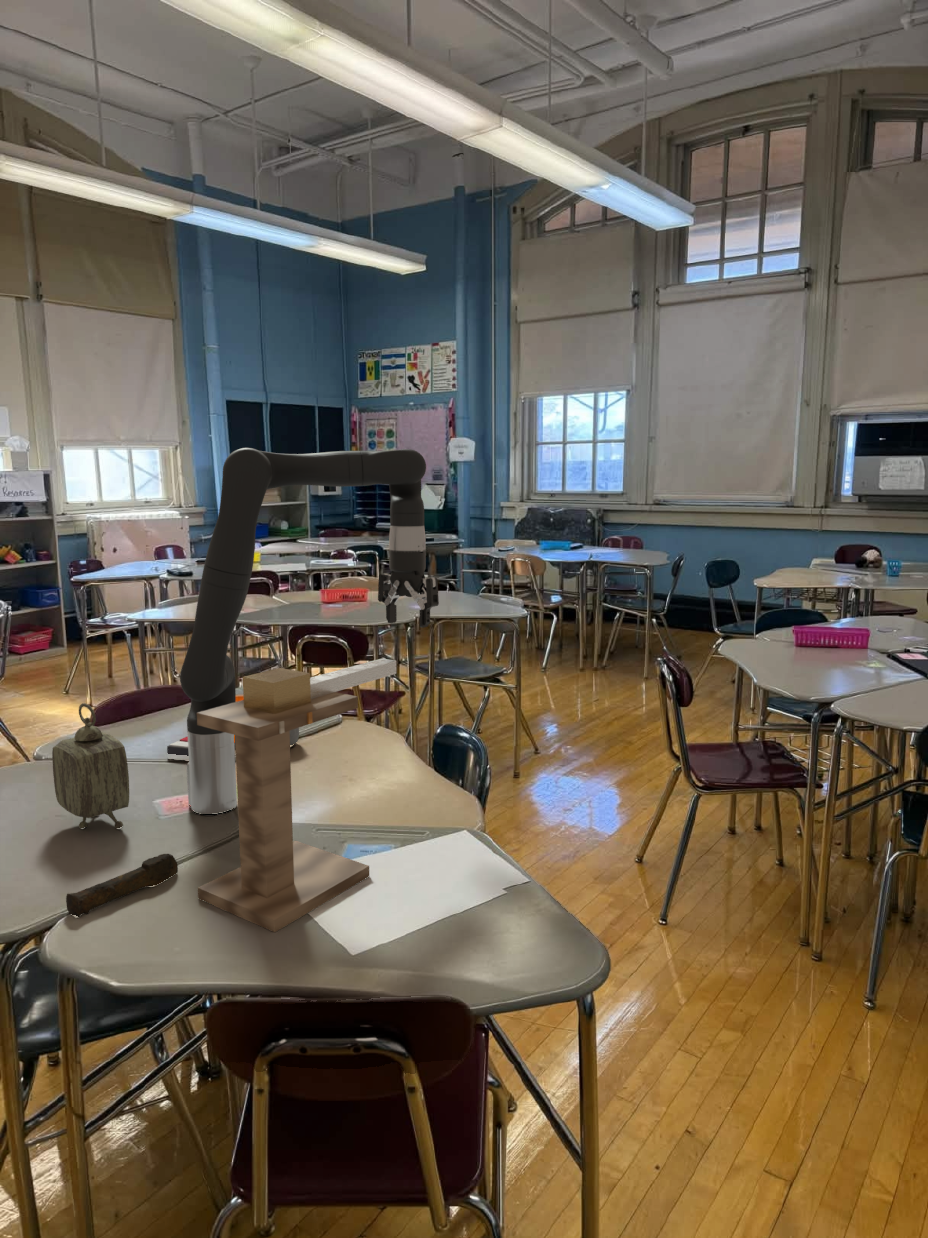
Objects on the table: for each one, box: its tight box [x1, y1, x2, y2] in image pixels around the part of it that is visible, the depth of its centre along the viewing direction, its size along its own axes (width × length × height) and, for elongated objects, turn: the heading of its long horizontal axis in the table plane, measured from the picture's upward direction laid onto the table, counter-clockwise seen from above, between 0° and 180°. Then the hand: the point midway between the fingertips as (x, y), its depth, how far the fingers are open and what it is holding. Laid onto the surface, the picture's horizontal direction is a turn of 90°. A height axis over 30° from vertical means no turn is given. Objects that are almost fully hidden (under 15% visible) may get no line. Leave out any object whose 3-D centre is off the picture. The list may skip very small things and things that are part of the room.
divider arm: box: [242, 658, 397, 714], centre depth 145 cm, size 7×32×5 cm, turn 146°
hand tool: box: [65, 853, 179, 918], centre depth 138 cm, size 19×4×5 cm, turn 140°
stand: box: [197, 691, 370, 933], centre depth 138 cm, size 18×22×32 cm
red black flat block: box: [166, 735, 189, 756], centre depth 210 cm, size 11×4×15 cm
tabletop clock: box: [51, 702, 130, 829], centre depth 163 cm, size 14×9×25 cm, turn 47°
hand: (407, 624), depth 175 cm, fingers open, 8 cm apart
